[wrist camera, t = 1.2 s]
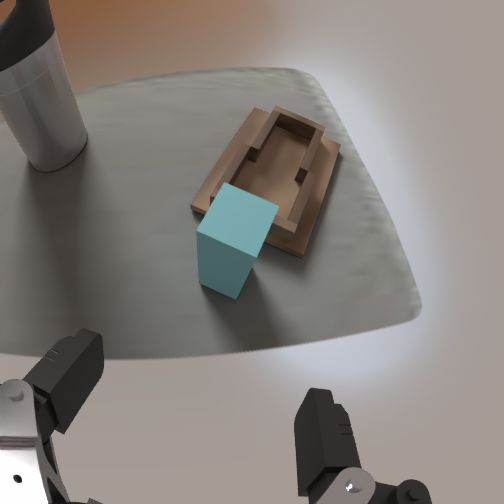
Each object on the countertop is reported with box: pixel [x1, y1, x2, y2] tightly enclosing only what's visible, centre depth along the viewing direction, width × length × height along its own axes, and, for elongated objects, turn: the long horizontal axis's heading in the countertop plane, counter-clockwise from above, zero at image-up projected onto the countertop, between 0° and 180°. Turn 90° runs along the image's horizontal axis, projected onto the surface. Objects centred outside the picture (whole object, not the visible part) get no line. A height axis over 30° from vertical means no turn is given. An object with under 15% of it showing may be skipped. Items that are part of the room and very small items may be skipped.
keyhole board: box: [191, 106, 341, 258], centre depth 34 cm, size 13×18×4 cm
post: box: [197, 182, 279, 300], centre depth 24 cm, size 4×4×12 cm
